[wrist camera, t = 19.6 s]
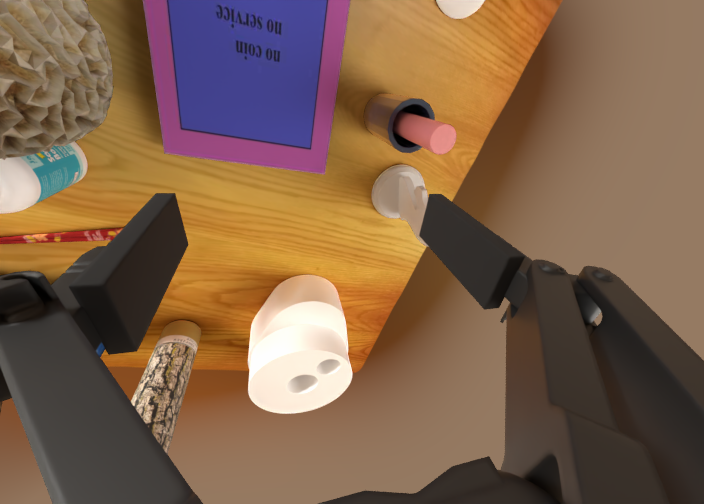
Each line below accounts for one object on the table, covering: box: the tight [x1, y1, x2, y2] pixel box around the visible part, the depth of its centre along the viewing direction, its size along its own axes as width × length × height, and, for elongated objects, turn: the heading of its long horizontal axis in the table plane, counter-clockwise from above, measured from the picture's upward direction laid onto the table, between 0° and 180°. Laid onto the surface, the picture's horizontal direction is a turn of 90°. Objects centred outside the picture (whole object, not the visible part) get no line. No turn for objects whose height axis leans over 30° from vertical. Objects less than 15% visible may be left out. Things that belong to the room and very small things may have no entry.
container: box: [248, 275, 352, 414], centre depth 55 cm, size 20×25×14 cm
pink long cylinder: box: [392, 110, 456, 154], centre depth 34 cm, size 3×3×18 cm
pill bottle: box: [0, 141, 88, 213], centre depth 30 cm, size 8×7×14 cm
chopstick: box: [0, 228, 123, 244], centre depth 40 cm, size 2×24×1 cm, turn 88°
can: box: [364, 93, 435, 153], centre depth 38 cm, size 6×6×11 cm
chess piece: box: [372, 164, 428, 246], centre depth 43 cm, size 10×10×15 cm
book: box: [143, 0, 350, 174], centre depth 32 cm, size 21×3×30 cm
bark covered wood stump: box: [131, 320, 201, 454], centre depth 45 cm, size 7×7×25 cm
